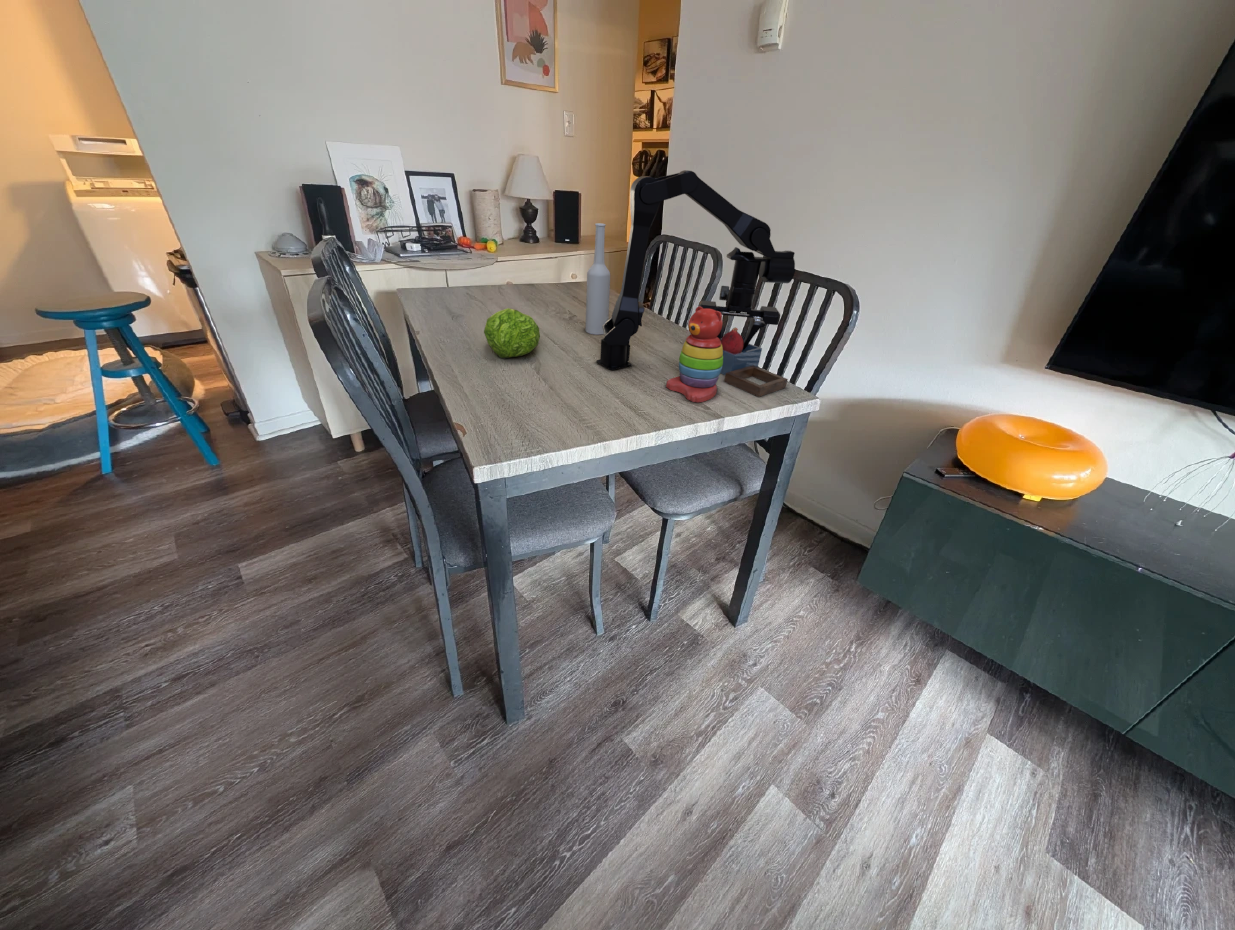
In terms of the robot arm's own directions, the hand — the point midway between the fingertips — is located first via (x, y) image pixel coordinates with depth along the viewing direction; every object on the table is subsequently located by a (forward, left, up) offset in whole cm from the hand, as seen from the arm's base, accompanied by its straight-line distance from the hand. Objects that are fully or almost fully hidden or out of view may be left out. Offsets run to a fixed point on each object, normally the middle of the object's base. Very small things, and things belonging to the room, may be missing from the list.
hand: (731, 347), depth 116 cm
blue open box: (0, 0, -5) cm, 5 cm away
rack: (-3, -11, -5) cm, 13 cm away
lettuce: (-40, +38, -5) cm, 56 cm away
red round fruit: (0, 0, -3) cm, 3 cm away
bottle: (-12, +39, -5) cm, 41 cm away
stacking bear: (-18, -6, -5) cm, 20 cm away
